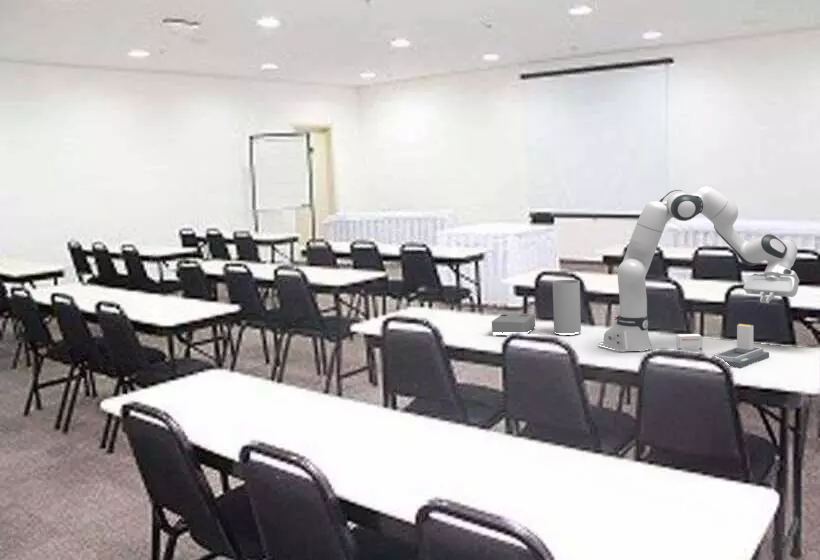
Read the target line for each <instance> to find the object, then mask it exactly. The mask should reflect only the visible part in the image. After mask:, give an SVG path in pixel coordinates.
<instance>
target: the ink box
mask: <svg viewBox="0 0 820 560" xmlns="http://www.w3.org/2000/svg"><path fill="white" fill-rule="evenodd" d="M675 339H676V341H675V342H676V351H677V350H681V351H691V352H699V353H702V354H703V336H702V335H701V334H700V333H688V334H685V333H683V334H681V333H680V334H676V338H675Z"/></svg>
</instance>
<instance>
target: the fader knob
mask: <svg viewBox="0 0 820 560" xmlns="http://www.w3.org/2000/svg"><path fill="white" fill-rule="evenodd" d="M736 330H737V331H736V333H737V334H736V346H735V347H736V348H735V352H740V353H748V352H751V351H754V350H755V348H753V347H754V325H753V324H744V323H738V324H736Z"/></svg>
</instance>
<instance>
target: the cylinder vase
mask: <svg viewBox="0 0 820 560" xmlns="http://www.w3.org/2000/svg"><path fill="white" fill-rule="evenodd" d="M580 284H581V281H580V280H577V279H559V280H553V281H552V301H553V302H552V304H553V307H552V309H553V332H556V333H575V332H580V331H581V332H582V327H581V326H582V324H581V322H582V321H581V317H582V315H581V289H580V288H581V287H580V286H581V285H580Z"/></svg>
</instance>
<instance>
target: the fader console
mask: <svg viewBox="0 0 820 560" xmlns="http://www.w3.org/2000/svg"><path fill="white" fill-rule="evenodd" d="M736 347H737V346H735V347H732V348H731V347H730V348H729V349H726V350H722V351H721V352H717V353H714V354H713V355H714V356H717V357H719V358H721V359H723V360H724V361H725V362H727V363H728V364H729V365H730V366H733V367H732V368H736V367H738V368H737V369H742V368H745V367H747V366H750V365H753V364H755V363H758V362H761V361H762V360H766V359H768V357H769V358H770V351H764V349H765V348H763V347H758V346H753V348H755V350H754V351H751V352H748V353H740V352H735V348H736ZM765 358H766V359H765ZM760 360H761V361H760ZM757 361H758V362H757ZM754 362H755V363H754ZM752 363H753V364H752ZM749 364H750V365H749ZM730 366H729V367H730ZM744 366H745V367H744Z"/></svg>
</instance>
